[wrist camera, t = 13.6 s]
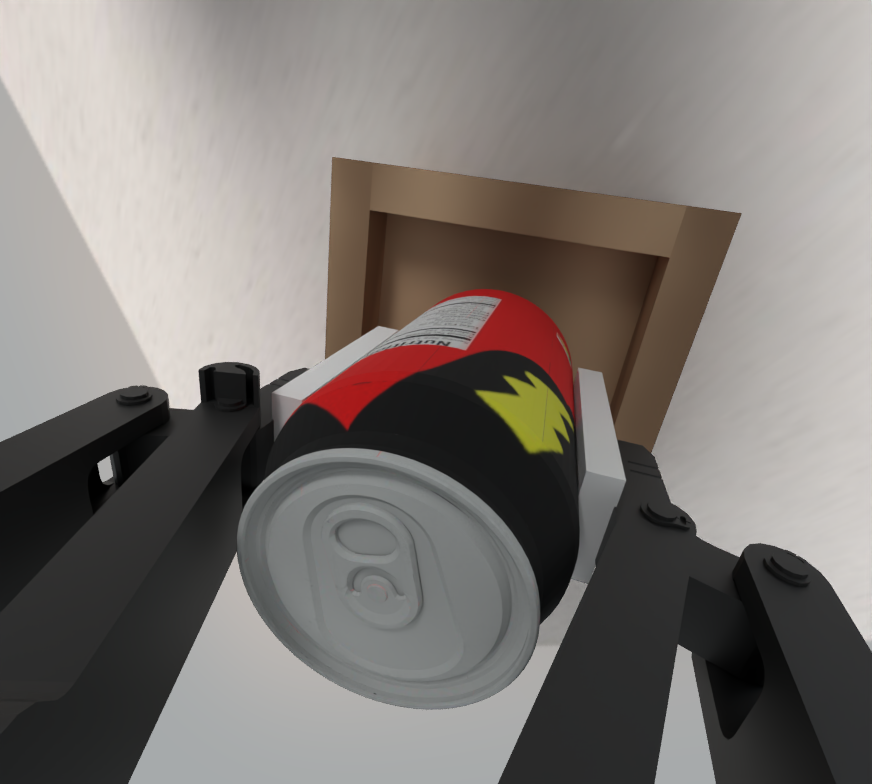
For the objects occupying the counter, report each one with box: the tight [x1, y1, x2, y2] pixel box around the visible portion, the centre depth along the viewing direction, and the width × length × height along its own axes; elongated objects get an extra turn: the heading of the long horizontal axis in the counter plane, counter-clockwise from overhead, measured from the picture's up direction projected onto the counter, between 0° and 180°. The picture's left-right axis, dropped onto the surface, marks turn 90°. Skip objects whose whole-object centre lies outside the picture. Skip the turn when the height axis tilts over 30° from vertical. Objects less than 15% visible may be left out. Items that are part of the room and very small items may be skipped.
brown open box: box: [325, 157, 742, 453], centre depth 21 cm, size 13×13×8 cm
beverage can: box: [237, 289, 580, 709], centre depth 13 cm, size 6×6×12 cm
